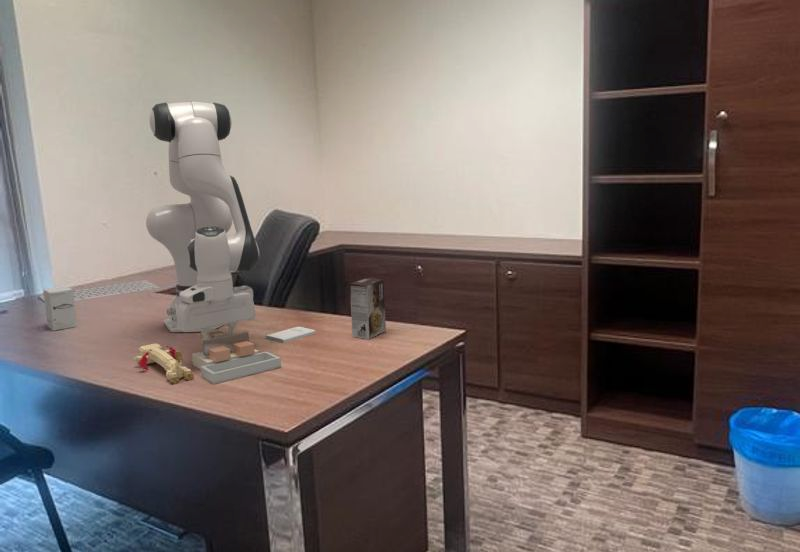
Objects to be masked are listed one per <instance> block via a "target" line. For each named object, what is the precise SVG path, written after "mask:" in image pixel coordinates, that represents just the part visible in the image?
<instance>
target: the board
mask: <svg viewBox="0 0 800 552" xmlns="http://www.w3.org/2000/svg"><path fill="white" fill-rule="evenodd" d="M254 351H255V353H254V354H258V353H260V352H259V350H258V349H255V348H254ZM230 354H231V359H228V360H232V359H236V358H240V356H238V355H236V354H234V352H233V351H230ZM249 355H253V354H249ZM249 355H245V356H249ZM191 356H192V357H191V360H192V365H193V366H194V367H196V368H197V369H199V370H201V368H200V367H201V366H206V365H210V364H214V363H219V362H223V361H227V360H223V361H219V362H215V361H213V360H211V359H209V356H204V351H199V352H194V353H191ZM245 356H241V357H245Z"/></svg>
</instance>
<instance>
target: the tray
mask: <svg viewBox="0 0 800 552" xmlns="http://www.w3.org/2000/svg"><path fill="white" fill-rule="evenodd" d="M200 368H201V369H200V376H201V378H203V379H205V380H206V381H208V382H210V383H211V384H213V385H216V384H219V383H223V382H228V381H232V380H235V379H239V378H244V377H247V376H252V375H256V374H259V373H264V372H267V371H271V370H276V369H280V368H282V363H281V357H280V356H277V355H276V354H273V353H271V352H269V351H263V352H259V353H258V354H253V355H249V356H245V357H240V358H236V359H232V360H227V361H223V362H219V363H214V364H210V365H206V366H201V367H200Z"/></svg>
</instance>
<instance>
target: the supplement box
mask: <svg viewBox="0 0 800 552" xmlns="http://www.w3.org/2000/svg"><path fill="white" fill-rule="evenodd" d="M42 291H43V295H44V300H45V302H44V307H45V314H46V322H47V328H49V329H50V330H52V331H53V332H55V331H59V330H64V329H70V328H76V327H78V323H77V315H76V306H75V301H74V296H73V288H71V287H68V286H62V287H54V288H47V289H46V288H45V289H43V290H42Z"/></svg>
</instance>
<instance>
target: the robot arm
mask: <svg viewBox="0 0 800 552" xmlns="http://www.w3.org/2000/svg"><path fill="white" fill-rule="evenodd" d="M232 125H233V124H232V117H231V114H230V112H229V108H228V107H226V105H224V104H223V103H218V102H213V103H210V102H203V101H189V102H188V101H183V102H181V101H180V102H171V103H170V102H169V103H168V102H161V103H156V104H155V105H154V106H153V107H152V109H151V112H150V115H149V127H150V129H151V131H152V133H153V136H154V137H155V138H156V139H157V140H158V141H159V140H160V141H163V142H166V143H168V172H169V173H168V175H169V183H170V185H171V187H172V188H173V189H174V190H176V191H178V193H179V192H180V193H181V194H184V195H186V196H188V197H190V202H188V203H179V204H178V203H177V204H176V203H175V204H166V205H163V206H158V207H155V208H151V210H150V211H149V213H148V214H147V216H146V220H145V221H146V222H145V226H146V229H147V232H148V234H149V235H150V237H151V238H153V239H154V240H155V241H157V242H159V243H160V244H162V245H163V246H164V247H165V248H166V249H167V251H168V252H169V254H170V255H171V257H172V259H173V260H172V261H173V262H174V269H175V273H176V282H177V283H176V286H175V296H176V297H175V298H174V299H173V300H172V302H171V303H170V305H169V307H167V308H166V315H167V316H170V317H169V318H165V319H164V320H163V324H164V326H166V328H167V329H168V331H169V332H170V333H181V332H182V333H190V332H191V333H196V332H198V333H200V331H202V332H203V334H204V335H205V336H206V337H207V339H210V338H214V337H213V336H210V335H209V333H208V332H210V329H215V330H216V329H218V328H220V327H222V326H225V325H227V327H228V329H227V332H226V333H229V334H234V332H235V329H236V323H241V322H245V321H250V320H254V319H255V317H256V307H255V303H254V290H253V288H252V287H250V286H249V285H246V284H245V285H242V286H241V285H239V286H233V285H234V284H233V276H232V272H235V271H236V272H250V271H251V270H253V269H254V268H255V267H256V266H257V264H258V263H259V262H260V249H259V246H258V245H259V244H258V243H257V240H256V238H255V235H254V232H253V230H252V226H251V222H250V220H249V216H248V213H247V210H246V209H247V208H246V206H245V202H244V199H243V195H242V192H241V190H240V187H239V184H238V182H237V180H236V178H235V177H234V176H232V175H229V173H227V172H228V171H227V170H226V169H225V167H224V164H223V162H222V156H221V155H222V153H221V148H220V143H219V141H223V140H225V139H226V138H227V137H229V135H230V133H231V130H232ZM222 201H223V202H222ZM232 225H234V229H235V232H236V233H235V234H233V235H227V233H228V232H230V230H231V228H232Z"/></svg>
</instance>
